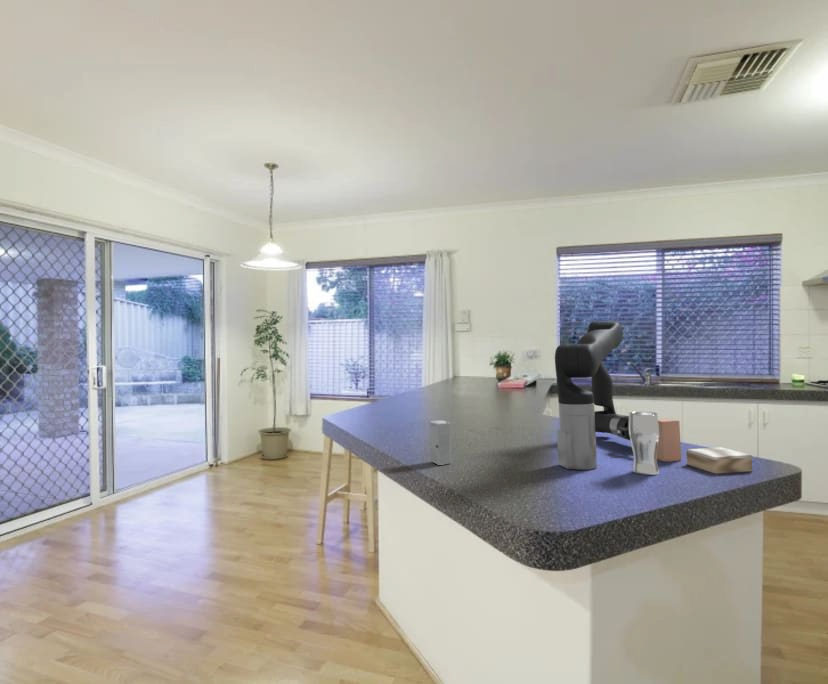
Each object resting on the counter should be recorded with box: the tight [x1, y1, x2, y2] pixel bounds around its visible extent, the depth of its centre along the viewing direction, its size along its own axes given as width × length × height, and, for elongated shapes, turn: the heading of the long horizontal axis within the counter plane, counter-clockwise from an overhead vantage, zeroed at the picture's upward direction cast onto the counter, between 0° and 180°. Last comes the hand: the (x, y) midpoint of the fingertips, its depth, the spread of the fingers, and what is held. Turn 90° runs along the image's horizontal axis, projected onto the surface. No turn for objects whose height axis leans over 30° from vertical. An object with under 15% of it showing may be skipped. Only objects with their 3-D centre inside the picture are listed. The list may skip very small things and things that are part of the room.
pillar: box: [657, 417, 682, 462], centre depth 132 cm, size 5×5×11 cm
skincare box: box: [429, 419, 452, 464], centre depth 137 cm, size 6×4×12 cm
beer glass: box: [628, 411, 660, 476], centre depth 119 cm, size 7×7×15 cm
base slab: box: [686, 446, 753, 474], centre depth 121 cm, size 10×10×4 cm
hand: (658, 435), depth 136 cm, fingers open, 8 cm apart
